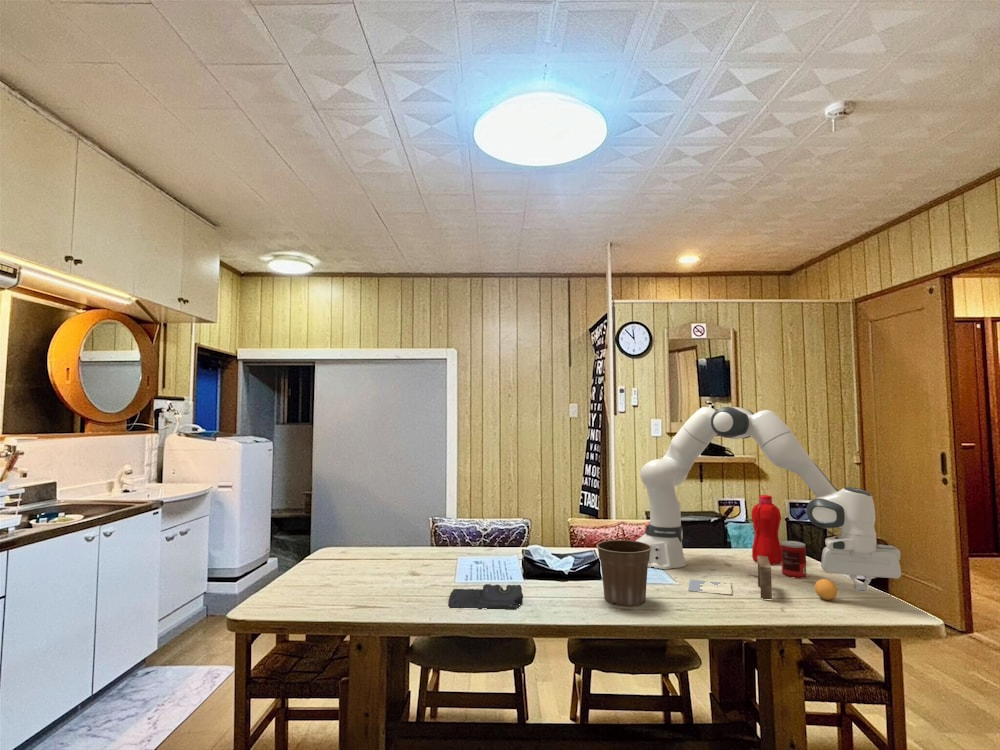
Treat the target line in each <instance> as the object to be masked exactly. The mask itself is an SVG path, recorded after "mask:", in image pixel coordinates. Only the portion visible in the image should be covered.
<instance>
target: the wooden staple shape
mask: <svg viewBox="0 0 1000 750" xmlns="http://www.w3.org/2000/svg"><path fill="white" fill-rule="evenodd" d="M757 560H758V562H757V587H760V588H759V589H760V599H761V598H763V599H772V600H773V586H772V585H773V584H772V580H773V579H772V565H770V563H769V560H768V557H767V556H757Z"/></svg>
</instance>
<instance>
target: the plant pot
mask: <svg viewBox="0 0 1000 750" xmlns="http://www.w3.org/2000/svg"><path fill="white" fill-rule="evenodd" d="M596 548H597V551H598V559H599V560H600V561H599V562H600V567H601V576H602V577H601V578H602V585H603V594H604V595H603V596H604V597H603V598H604V599H605V602H607V603H609V604H612V605H614V604H617V605H618V606H622V607H624V606H625V607H635V606H640V605H642V604H643V603H646V599H647V582H648V581H647V580H648V568H649V567H648V562H649V557H650V550H651V549H652V547H651V546H650V545H648V544H646V543H642V542H638V541H636V540H632V539H631V540H628V539H612V540H610V539H609V540H604V541H601V542H598V543H596Z"/></svg>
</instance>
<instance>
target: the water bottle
mask: <svg viewBox="0 0 1000 750" xmlns="http://www.w3.org/2000/svg"><path fill="white" fill-rule="evenodd" d="M758 499H759V500H758V501H759V502H758V503H757V504H755V505H754V506H753V507H752V508H751V520H752V525H753V529H754V539H753V544H752V549H751V550H752V551H751V557H752V560H753V561H754V562H756V563H758V560H757V556H767V557H768V560H769V563H770V566H772V565H777V564H782V556H781V542H780V538H779V530H780V523H781V519H782V515H781V511H780V509H779V508H778V506H776V505H775V504H773V497H772V495H768V494H761V495H759V498H758Z"/></svg>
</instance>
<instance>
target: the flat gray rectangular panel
mask: <svg viewBox="0 0 1000 750" xmlns="http://www.w3.org/2000/svg"><path fill="white" fill-rule="evenodd" d="M706 581H707V582H708V581H709V580H700V579H699V580H698V579H689V585H688V589H687V590H688V592H693V591H703V590H702V589H700V587H702V586H703V585H700V584H704V583H705V582H706ZM710 583H712V584H714V585H718V584H720V583H722V582H721V581H719V582H717V581H710ZM723 583H724V584H726V583H727V582H723ZM730 584H732V583H731V582H730ZM717 587H718V586H717Z"/></svg>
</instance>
